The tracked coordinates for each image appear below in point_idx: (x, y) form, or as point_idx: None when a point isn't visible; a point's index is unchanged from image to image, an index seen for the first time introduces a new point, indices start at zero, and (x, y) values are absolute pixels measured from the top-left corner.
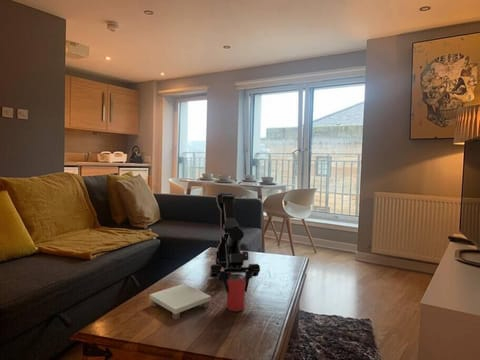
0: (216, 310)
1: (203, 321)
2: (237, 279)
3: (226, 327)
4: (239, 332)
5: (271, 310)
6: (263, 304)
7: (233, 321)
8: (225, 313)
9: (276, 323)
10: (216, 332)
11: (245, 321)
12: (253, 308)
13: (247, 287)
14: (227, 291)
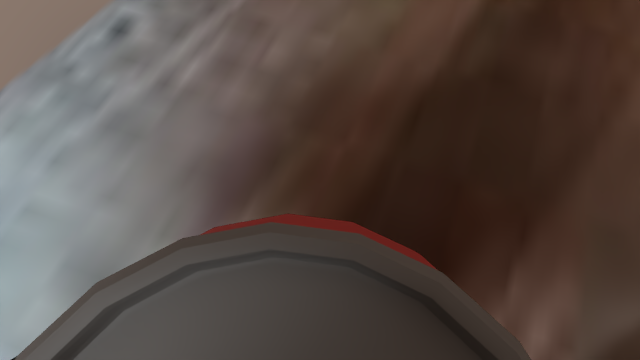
0: None
1: (626, 200)
2: (357, 242)
3: (473, 78)
4: (408, 7)
5: (30, 203)
6: (14, 337)
7: (402, 134)
8: None
9: (128, 28)
10: (550, 45)
11: (317, 109)
12: None
13: None
14: None
